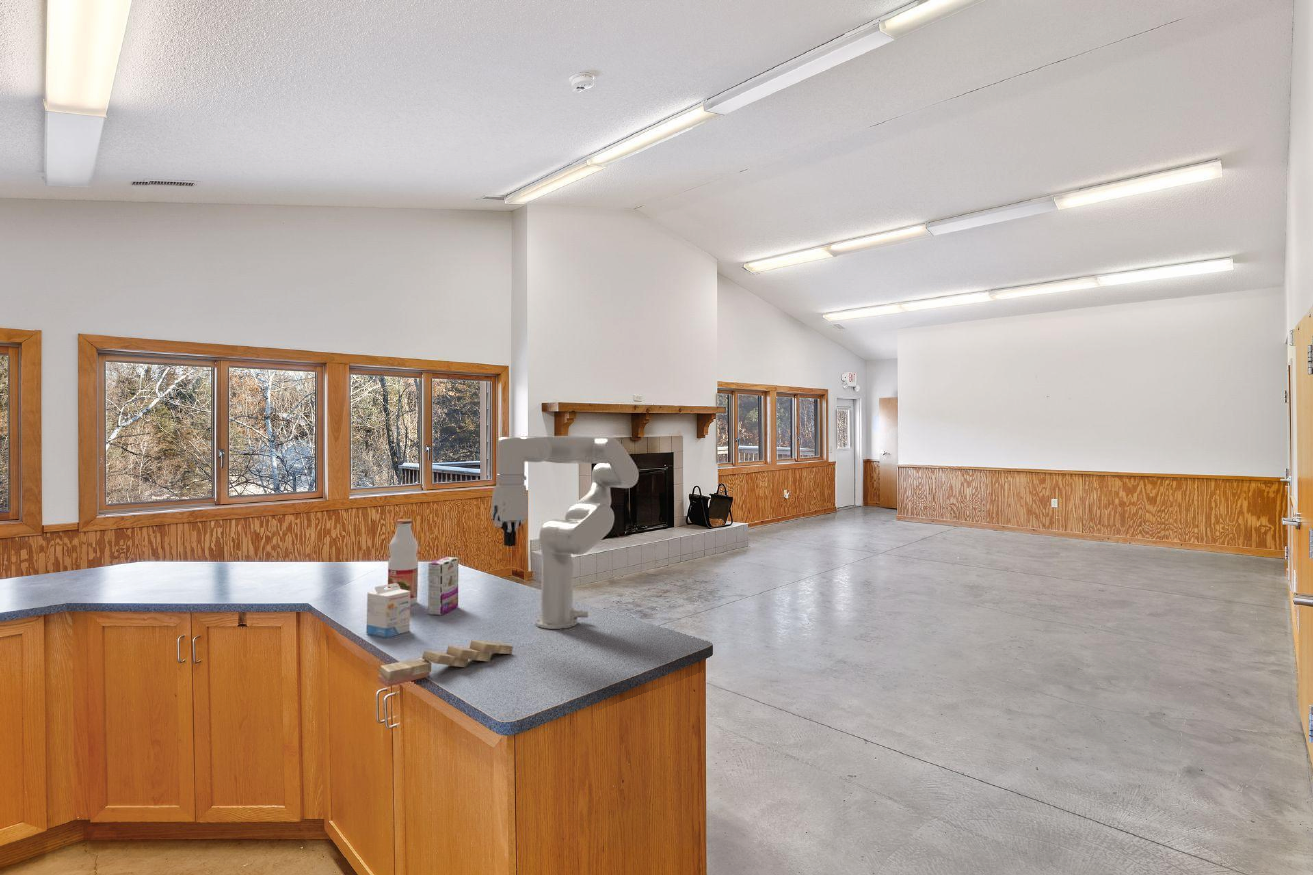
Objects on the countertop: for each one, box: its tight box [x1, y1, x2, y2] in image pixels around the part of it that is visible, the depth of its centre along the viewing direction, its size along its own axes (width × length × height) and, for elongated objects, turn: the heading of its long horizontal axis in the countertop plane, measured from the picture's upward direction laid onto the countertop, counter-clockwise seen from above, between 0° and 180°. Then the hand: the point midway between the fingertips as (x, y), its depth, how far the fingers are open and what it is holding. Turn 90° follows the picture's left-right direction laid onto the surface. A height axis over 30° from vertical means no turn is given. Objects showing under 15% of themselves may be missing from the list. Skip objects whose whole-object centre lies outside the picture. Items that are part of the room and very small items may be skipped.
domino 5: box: [469, 639, 514, 655], centre depth 174 cm, size 2×5×10 cm
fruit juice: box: [387, 518, 419, 606], centre depth 225 cm, size 9×9×28 cm
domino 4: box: [445, 644, 492, 663], centre depth 168 cm, size 2×5×10 cm
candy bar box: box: [427, 556, 459, 616], centre depth 217 cm, size 11×5×16 cm, turn 168°
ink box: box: [365, 583, 411, 639], centre depth 193 cm, size 9×8×13 cm
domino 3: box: [421, 649, 469, 668], centre depth 163 cm, size 2×5×10 cm
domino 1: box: [380, 657, 432, 681], centre depth 157 cm, size 2×5×10 cm
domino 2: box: [378, 672, 431, 687], centre depth 157 cm, size 2×5×10 cm
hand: (509, 545), depth 190 cm, fingers closed
